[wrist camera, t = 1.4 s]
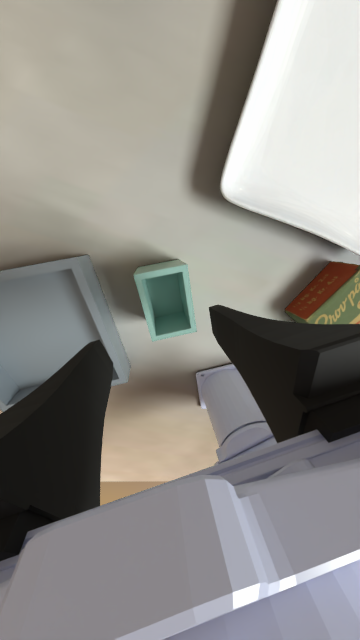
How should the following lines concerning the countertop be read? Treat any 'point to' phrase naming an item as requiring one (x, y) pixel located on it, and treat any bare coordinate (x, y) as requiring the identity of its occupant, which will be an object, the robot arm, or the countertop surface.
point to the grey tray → (52, 324)
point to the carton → (329, 297)
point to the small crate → (166, 299)
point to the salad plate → (303, 123)
